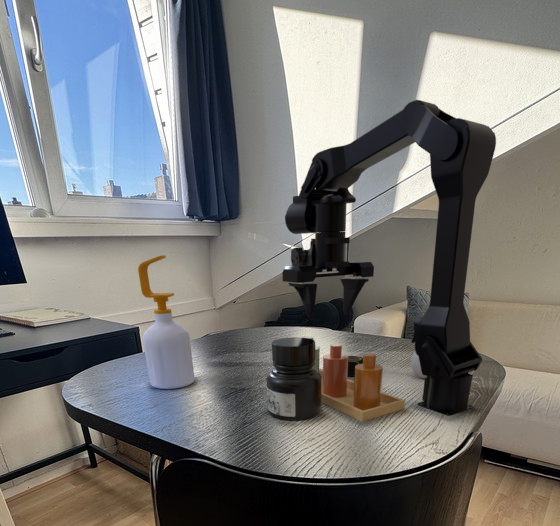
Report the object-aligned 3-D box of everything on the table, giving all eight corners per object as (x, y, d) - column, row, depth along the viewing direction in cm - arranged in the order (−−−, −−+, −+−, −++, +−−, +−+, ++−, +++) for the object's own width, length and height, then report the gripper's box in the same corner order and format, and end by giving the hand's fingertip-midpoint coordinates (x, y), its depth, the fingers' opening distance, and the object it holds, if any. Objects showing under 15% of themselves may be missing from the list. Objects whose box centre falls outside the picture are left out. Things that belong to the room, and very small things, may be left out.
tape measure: (362, 370, 90) (363, 353, 89) (367, 379, 84) (368, 361, 83) (331, 370, 91) (332, 354, 89) (334, 380, 85) (334, 362, 83)
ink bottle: (260, 407, 71) (256, 338, 66) (306, 400, 74) (306, 333, 69) (280, 428, 63) (277, 351, 58) (331, 419, 66) (333, 344, 61)
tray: (404, 411, 68) (405, 400, 67) (362, 424, 64) (362, 412, 63) (314, 376, 88) (314, 366, 87) (277, 384, 83) (277, 374, 82)
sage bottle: (323, 383, 81) (324, 337, 78) (305, 387, 79) (305, 340, 75) (310, 378, 85) (310, 334, 81) (293, 381, 83) (292, 337, 79)
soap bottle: (189, 389, 82) (172, 255, 72) (144, 390, 82) (121, 257, 72) (198, 376, 90) (184, 254, 80) (157, 377, 90) (138, 255, 80)
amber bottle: (385, 408, 68) (389, 355, 64) (365, 414, 66) (368, 359, 62) (367, 401, 71) (370, 349, 68) (347, 406, 69) (349, 353, 66)
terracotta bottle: (351, 394, 75) (354, 345, 71) (332, 399, 73) (333, 349, 69) (336, 388, 78) (337, 341, 74) (317, 393, 76) (318, 344, 72)
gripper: (341, 233, 88) (339, 308, 95) (266, 234, 79) (269, 317, 86) (378, 231, 79) (373, 313, 86) (298, 232, 71) (299, 324, 77)
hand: (328, 316), depth 84 cm, fingers open, 9 cm apart
